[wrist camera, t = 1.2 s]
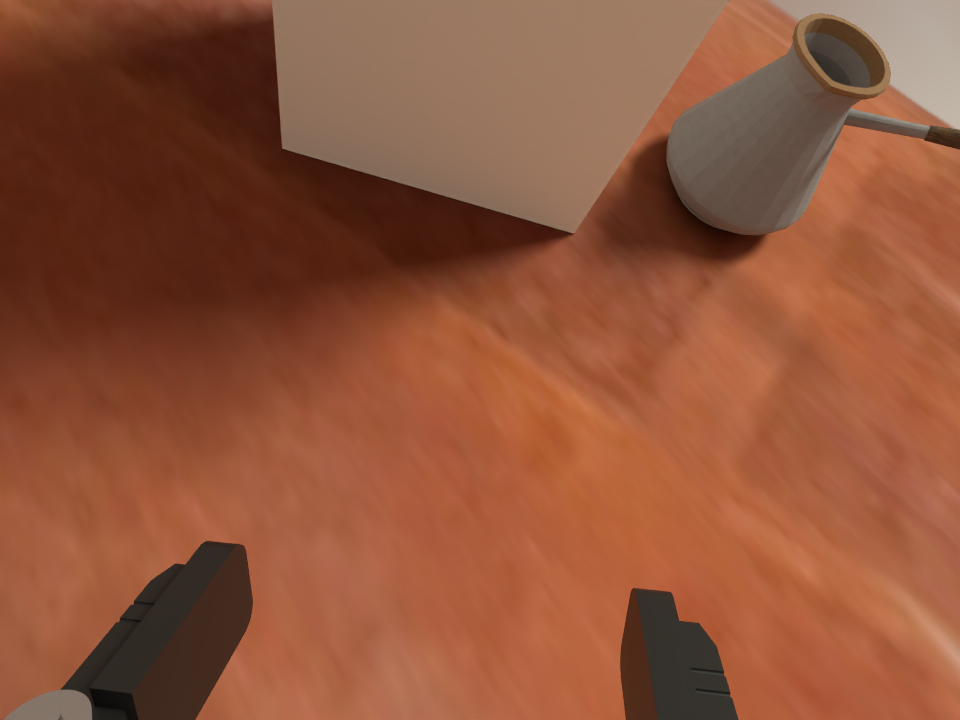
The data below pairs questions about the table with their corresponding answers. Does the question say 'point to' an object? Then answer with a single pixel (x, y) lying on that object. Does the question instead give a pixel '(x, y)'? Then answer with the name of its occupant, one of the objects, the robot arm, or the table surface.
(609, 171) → the tall box
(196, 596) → the robot arm
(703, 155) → the coffee pot
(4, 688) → the table surface
